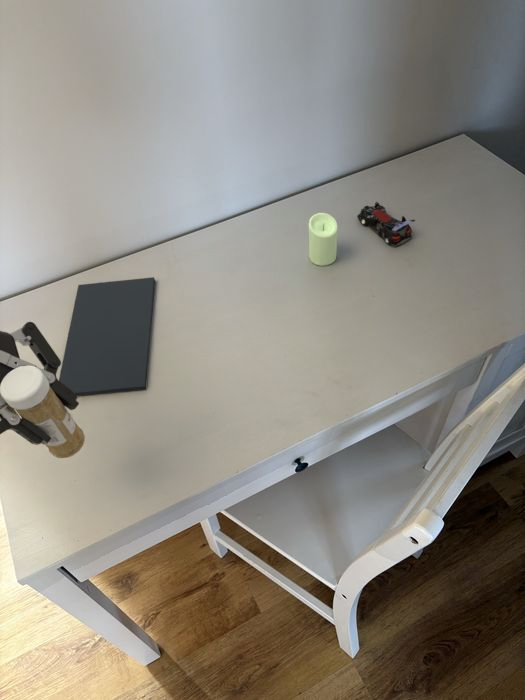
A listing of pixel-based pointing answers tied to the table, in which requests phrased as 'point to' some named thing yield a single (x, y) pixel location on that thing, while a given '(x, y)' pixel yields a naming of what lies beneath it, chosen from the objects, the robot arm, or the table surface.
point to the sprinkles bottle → (42, 409)
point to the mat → (109, 337)
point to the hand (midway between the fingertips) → (61, 423)
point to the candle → (322, 239)
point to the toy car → (386, 224)
